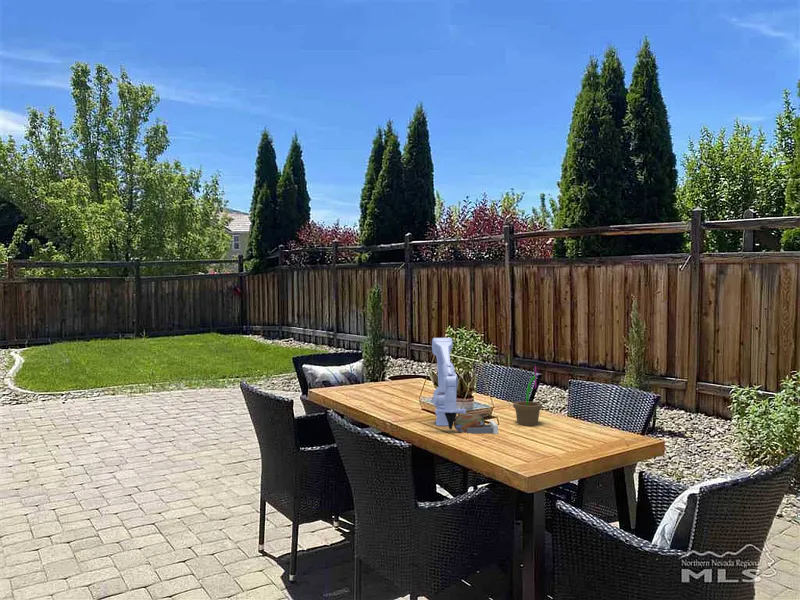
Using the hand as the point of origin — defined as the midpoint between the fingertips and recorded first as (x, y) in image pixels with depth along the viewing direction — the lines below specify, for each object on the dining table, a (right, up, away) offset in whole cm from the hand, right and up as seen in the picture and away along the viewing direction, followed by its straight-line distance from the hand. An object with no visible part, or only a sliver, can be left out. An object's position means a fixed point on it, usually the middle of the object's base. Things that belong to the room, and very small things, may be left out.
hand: (450, 428), depth 283 cm
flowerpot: (+41, -2, +17) cm, 44 cm away
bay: (+14, -2, +1) cm, 14 cm away
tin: (+9, -2, 0) cm, 9 cm away
